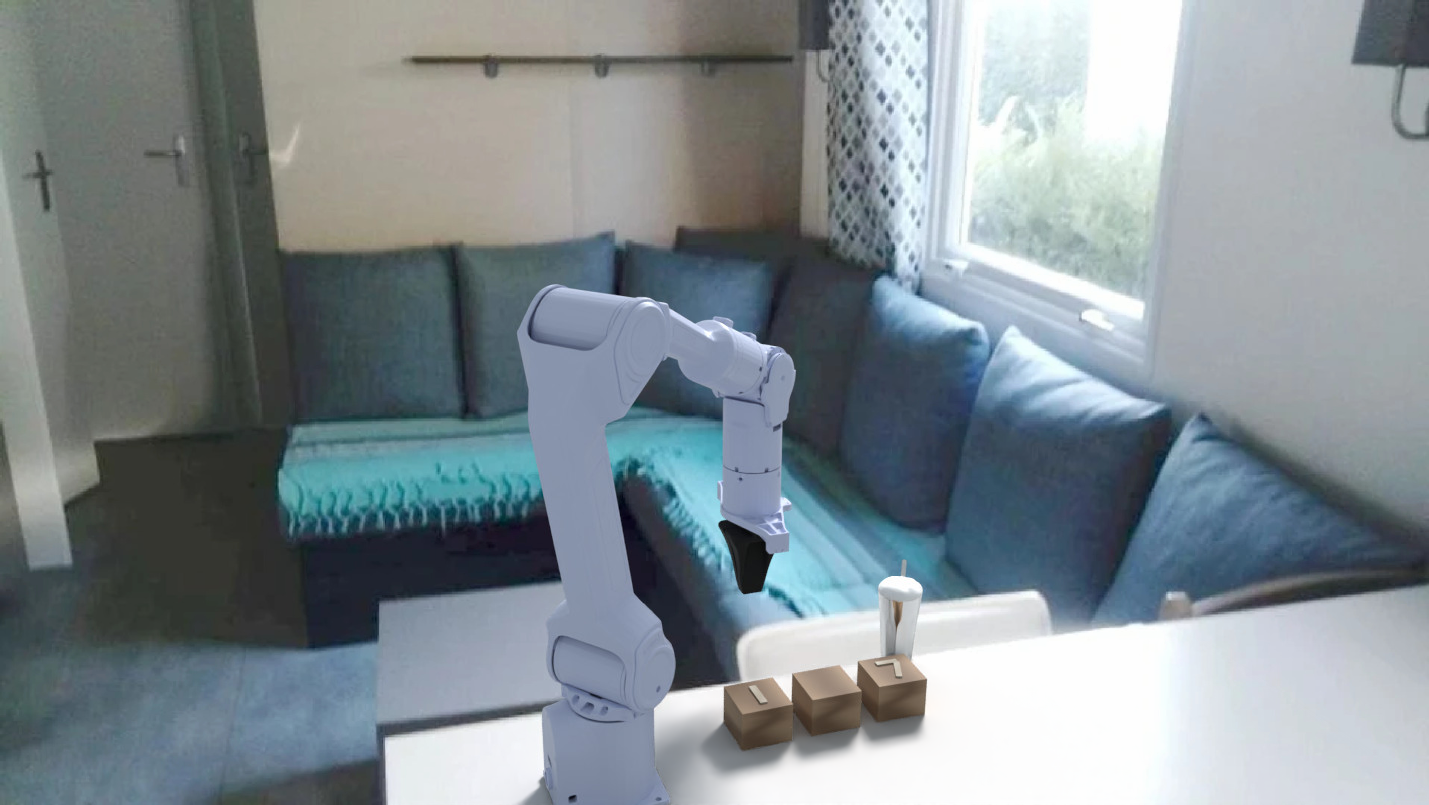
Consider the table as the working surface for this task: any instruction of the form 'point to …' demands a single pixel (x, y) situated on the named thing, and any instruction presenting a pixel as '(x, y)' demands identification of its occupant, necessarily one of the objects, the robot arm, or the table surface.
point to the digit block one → (758, 713)
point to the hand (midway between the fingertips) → (750, 590)
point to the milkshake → (898, 613)
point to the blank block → (826, 700)
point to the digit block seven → (891, 687)
